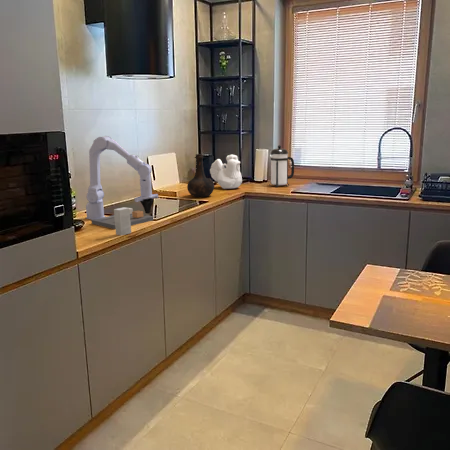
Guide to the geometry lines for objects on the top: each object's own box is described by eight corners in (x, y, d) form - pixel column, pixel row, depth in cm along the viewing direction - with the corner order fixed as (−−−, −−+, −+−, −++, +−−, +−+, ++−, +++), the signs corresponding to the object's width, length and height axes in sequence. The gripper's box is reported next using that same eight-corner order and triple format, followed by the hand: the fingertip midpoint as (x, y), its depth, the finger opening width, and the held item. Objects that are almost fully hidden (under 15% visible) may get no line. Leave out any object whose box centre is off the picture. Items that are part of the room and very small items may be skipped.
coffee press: (287, 188, 333) (287, 146, 326) (266, 187, 340) (266, 145, 333) (294, 184, 348) (294, 144, 341) (274, 183, 355) (274, 144, 348)
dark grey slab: (91, 223, 236) (91, 219, 235) (129, 215, 254) (129, 211, 253) (115, 229, 223) (115, 225, 223) (153, 220, 241) (153, 216, 240)
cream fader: (122, 214, 246) (122, 209, 245) (128, 212, 249) (128, 207, 248) (127, 215, 244) (126, 209, 243) (133, 213, 247) (132, 208, 246)
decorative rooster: (246, 188, 336) (246, 153, 331) (232, 191, 325) (231, 155, 319) (221, 185, 353) (220, 152, 347) (206, 188, 341) (205, 154, 335)
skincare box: (125, 231, 218) (123, 207, 215) (131, 233, 216) (129, 208, 213) (115, 234, 214) (113, 209, 211) (121, 235, 211) (119, 210, 208)
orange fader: (132, 216, 239) (132, 211, 238) (138, 215, 242) (138, 210, 241) (137, 217, 236) (137, 212, 236) (143, 216, 239) (143, 211, 239)
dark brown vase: (210, 199, 297) (209, 155, 290) (184, 198, 301) (182, 155, 294) (217, 194, 314) (216, 152, 307) (191, 193, 318) (190, 152, 311)
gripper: (140, 190, 233) (141, 216, 236) (161, 186, 243) (162, 211, 246) (131, 189, 237) (133, 214, 240) (152, 185, 248) (154, 210, 251)
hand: (147, 213), depth 244 cm, fingers closed
